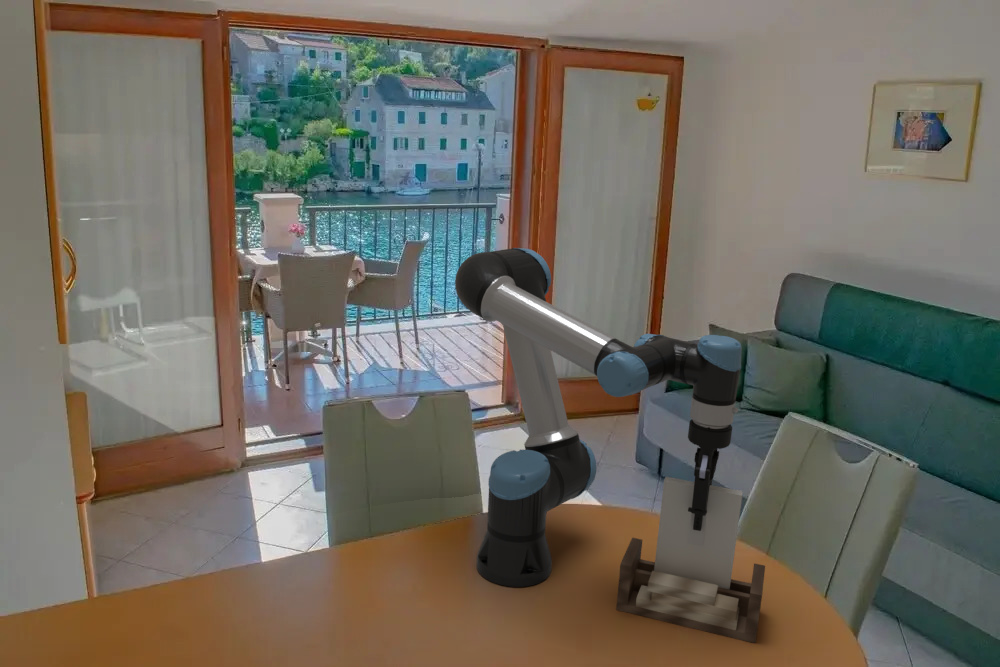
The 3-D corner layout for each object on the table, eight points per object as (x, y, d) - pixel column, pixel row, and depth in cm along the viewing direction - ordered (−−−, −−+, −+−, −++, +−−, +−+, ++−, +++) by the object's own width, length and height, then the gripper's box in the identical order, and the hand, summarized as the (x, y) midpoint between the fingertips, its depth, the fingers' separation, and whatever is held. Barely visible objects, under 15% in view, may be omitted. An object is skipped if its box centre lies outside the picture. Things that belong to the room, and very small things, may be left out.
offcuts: (635, 606, 152) (638, 580, 150) (640, 593, 156) (643, 567, 155) (736, 630, 146) (739, 603, 144) (738, 616, 150) (741, 589, 149)
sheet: (652, 586, 157) (664, 480, 152) (654, 581, 159) (665, 476, 153) (727, 604, 153) (742, 495, 147) (728, 598, 154) (743, 491, 149)
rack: (616, 609, 153) (620, 563, 151) (628, 580, 163) (632, 537, 161) (755, 643, 145) (762, 595, 142) (758, 610, 155) (765, 565, 153)
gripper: (728, 439, 139) (712, 564, 145) (736, 412, 153) (721, 527, 159) (684, 431, 142) (669, 554, 147) (695, 406, 155) (681, 519, 161)
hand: (696, 540), depth 153 cm, fingers closed on sheet, 2 cm apart
